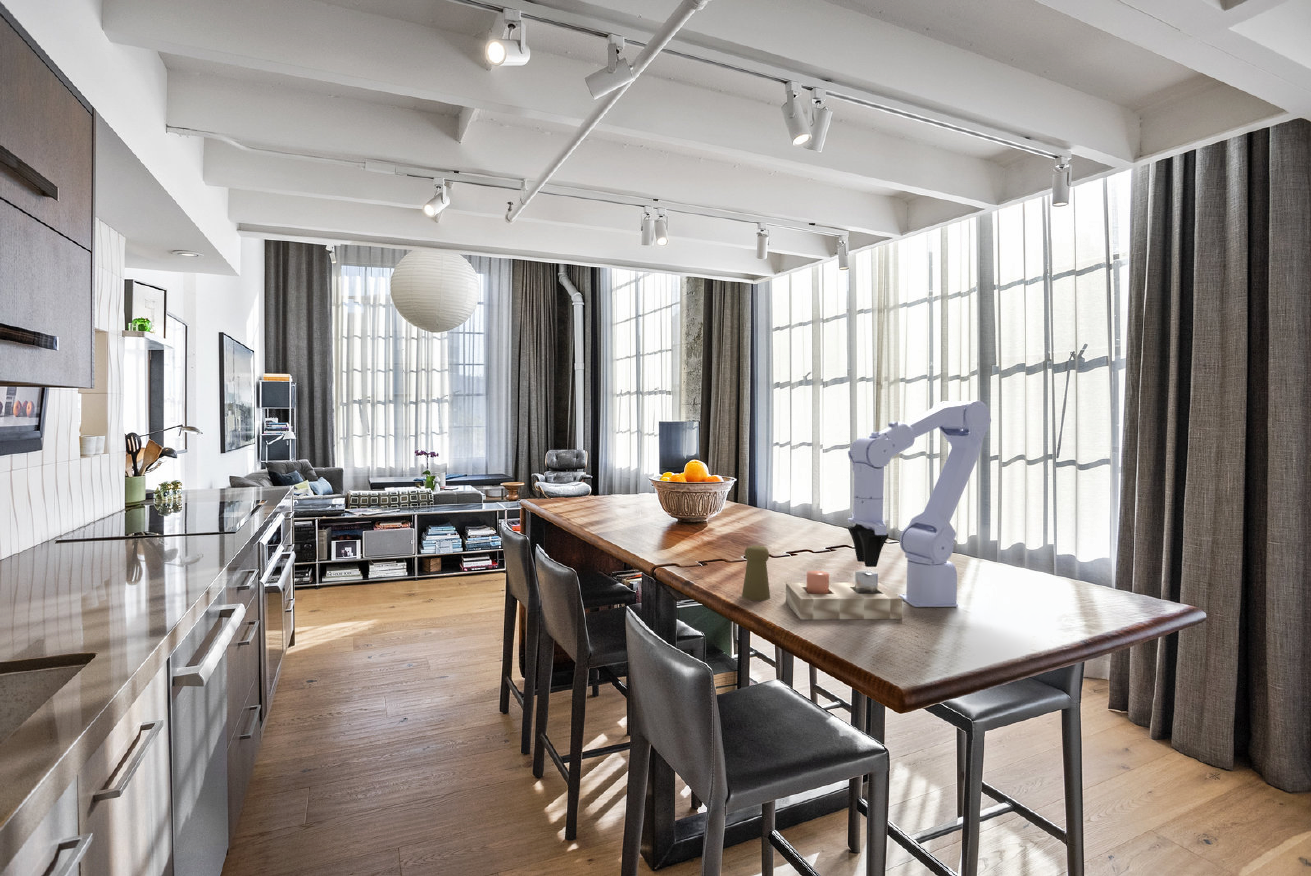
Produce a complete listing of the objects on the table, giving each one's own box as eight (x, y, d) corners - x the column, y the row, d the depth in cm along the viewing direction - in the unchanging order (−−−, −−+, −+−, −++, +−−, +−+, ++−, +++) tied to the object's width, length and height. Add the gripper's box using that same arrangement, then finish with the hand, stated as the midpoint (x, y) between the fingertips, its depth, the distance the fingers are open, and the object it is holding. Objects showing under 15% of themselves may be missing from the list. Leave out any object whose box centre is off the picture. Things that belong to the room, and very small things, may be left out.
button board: (878, 601, 143) (879, 582, 143) (902, 618, 131) (902, 598, 131) (785, 601, 142) (786, 582, 142) (800, 619, 130) (801, 599, 130)
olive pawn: (769, 601, 142) (770, 549, 142) (741, 599, 143) (741, 548, 143) (770, 593, 148) (771, 544, 148) (743, 591, 149) (743, 542, 149)
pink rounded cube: (825, 589, 138) (825, 570, 138) (831, 595, 134) (832, 576, 134) (803, 589, 138) (804, 570, 138) (809, 596, 134) (810, 576, 134)
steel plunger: (872, 589, 139) (873, 570, 139) (880, 595, 135) (881, 575, 134) (851, 589, 139) (852, 570, 139) (859, 595, 134) (859, 576, 134)
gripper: (837, 492, 143) (835, 556, 143) (861, 502, 128) (860, 572, 129) (870, 492, 143) (868, 555, 144) (898, 502, 129) (896, 572, 129)
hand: (866, 563), depth 136 cm, fingers open, 4 cm apart
